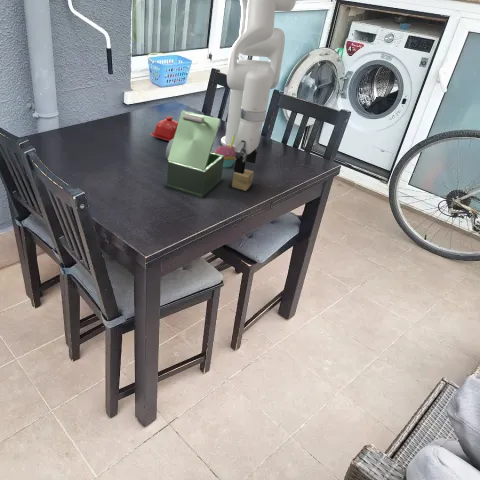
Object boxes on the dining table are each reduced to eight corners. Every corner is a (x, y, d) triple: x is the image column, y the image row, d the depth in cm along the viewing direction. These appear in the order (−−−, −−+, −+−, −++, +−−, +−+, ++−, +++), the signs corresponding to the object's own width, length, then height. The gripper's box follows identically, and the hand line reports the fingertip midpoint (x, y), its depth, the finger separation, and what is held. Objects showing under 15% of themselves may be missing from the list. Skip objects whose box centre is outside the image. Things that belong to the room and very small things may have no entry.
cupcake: (239, 162, 163) (243, 130, 156) (234, 171, 156) (239, 139, 149) (216, 158, 165) (219, 127, 158) (210, 167, 158) (214, 135, 151)
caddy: (187, 170, 155) (189, 146, 150) (221, 180, 150) (224, 155, 145) (166, 186, 145) (167, 161, 140) (201, 197, 139) (204, 171, 134)
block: (237, 181, 150) (239, 167, 147) (251, 185, 148) (253, 171, 145) (231, 186, 146) (233, 173, 143) (245, 191, 144) (248, 177, 141)
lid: (182, 111, 137) (175, 106, 132) (220, 119, 132) (214, 114, 127) (168, 160, 140) (160, 157, 134) (205, 170, 134) (198, 168, 129)
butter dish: (187, 136, 182) (189, 115, 177) (173, 144, 174) (174, 123, 169) (163, 129, 187) (164, 109, 182) (148, 138, 179) (149, 117, 174)
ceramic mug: (185, 167, 157) (186, 147, 153) (164, 162, 160) (165, 141, 156) (197, 157, 165) (199, 138, 161) (178, 152, 168) (179, 133, 164)
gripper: (251, 105, 141) (243, 156, 151) (230, 119, 129) (223, 173, 138) (274, 110, 138) (264, 161, 148) (254, 124, 125) (245, 179, 135)
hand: (244, 167), depth 143 cm, fingers open, 9 cm apart
